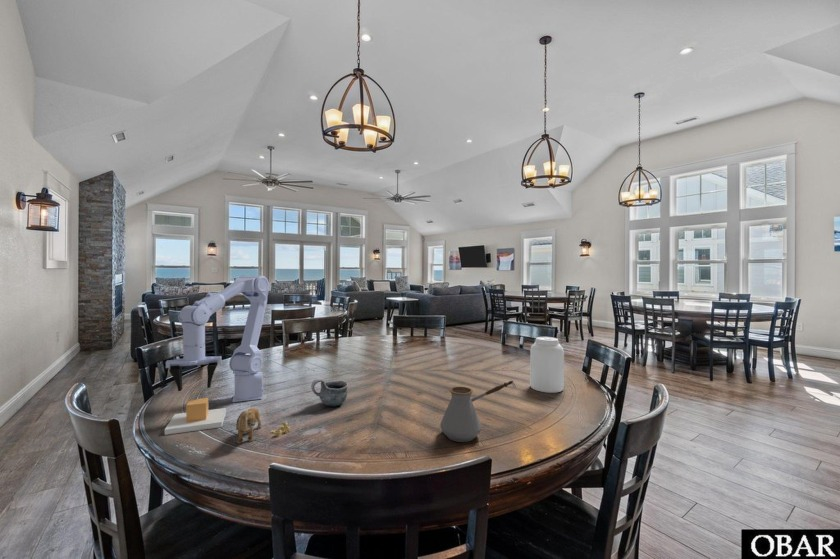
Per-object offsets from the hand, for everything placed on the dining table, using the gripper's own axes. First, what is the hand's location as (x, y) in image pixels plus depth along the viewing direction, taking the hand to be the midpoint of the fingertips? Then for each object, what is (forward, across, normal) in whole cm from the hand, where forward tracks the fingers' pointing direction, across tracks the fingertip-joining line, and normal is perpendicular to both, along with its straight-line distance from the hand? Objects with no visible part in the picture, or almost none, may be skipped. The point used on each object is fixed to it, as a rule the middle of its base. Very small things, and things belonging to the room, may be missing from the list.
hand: (194, 388), depth 113 cm
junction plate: (+9, +1, -4) cm, 10 cm away
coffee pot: (+10, +75, -43) cm, 87 cm away
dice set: (+10, +24, -20) cm, 33 cm away
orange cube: (+8, +1, -4) cm, 9 cm away
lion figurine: (+10, +16, -20) cm, 28 cm away
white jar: (+10, +122, -18) cm, 124 cm away
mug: (+10, +40, -5) cm, 42 cm away
